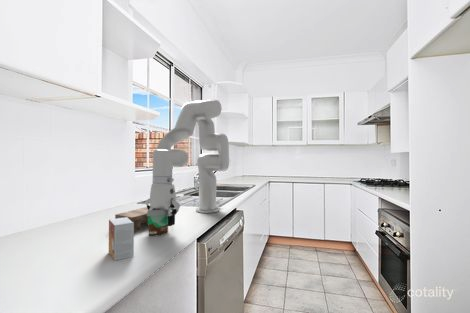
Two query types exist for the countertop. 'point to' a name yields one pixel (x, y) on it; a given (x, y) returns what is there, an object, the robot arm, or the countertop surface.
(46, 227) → the countertop surface
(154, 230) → the food container
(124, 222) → the small box
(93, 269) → the countertop surface
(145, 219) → the bridge shelf
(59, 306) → the countertop surface
